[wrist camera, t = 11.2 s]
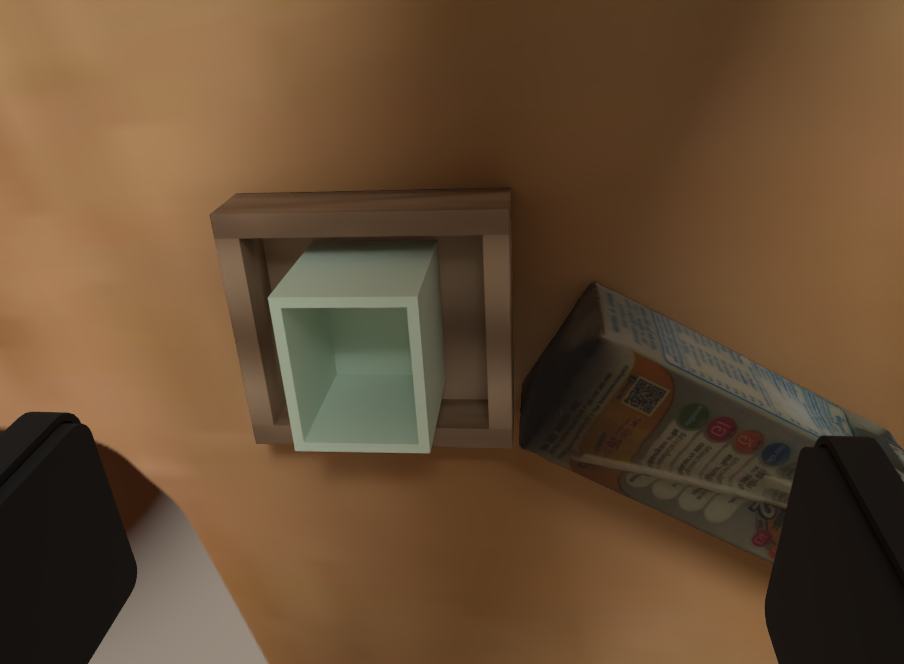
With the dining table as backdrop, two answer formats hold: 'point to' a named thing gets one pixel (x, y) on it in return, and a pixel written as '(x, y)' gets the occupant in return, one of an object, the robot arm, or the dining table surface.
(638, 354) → the beverage carton
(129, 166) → the dining table surface
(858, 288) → the dining table surface
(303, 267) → the small crate
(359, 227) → the walnut crate
